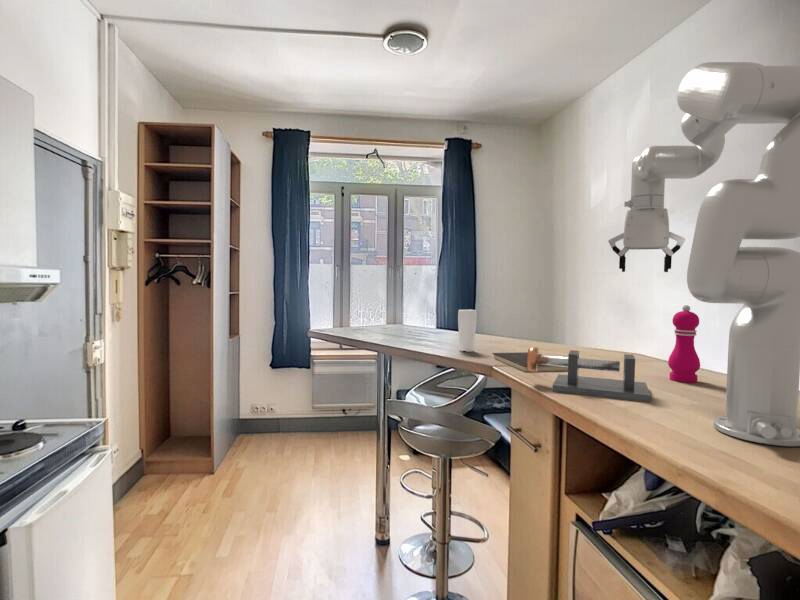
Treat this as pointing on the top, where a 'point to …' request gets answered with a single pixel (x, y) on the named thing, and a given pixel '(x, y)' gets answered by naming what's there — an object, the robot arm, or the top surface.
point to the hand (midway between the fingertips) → (644, 271)
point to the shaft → (537, 359)
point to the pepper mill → (684, 347)
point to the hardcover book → (524, 362)
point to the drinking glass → (467, 329)
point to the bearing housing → (602, 382)
